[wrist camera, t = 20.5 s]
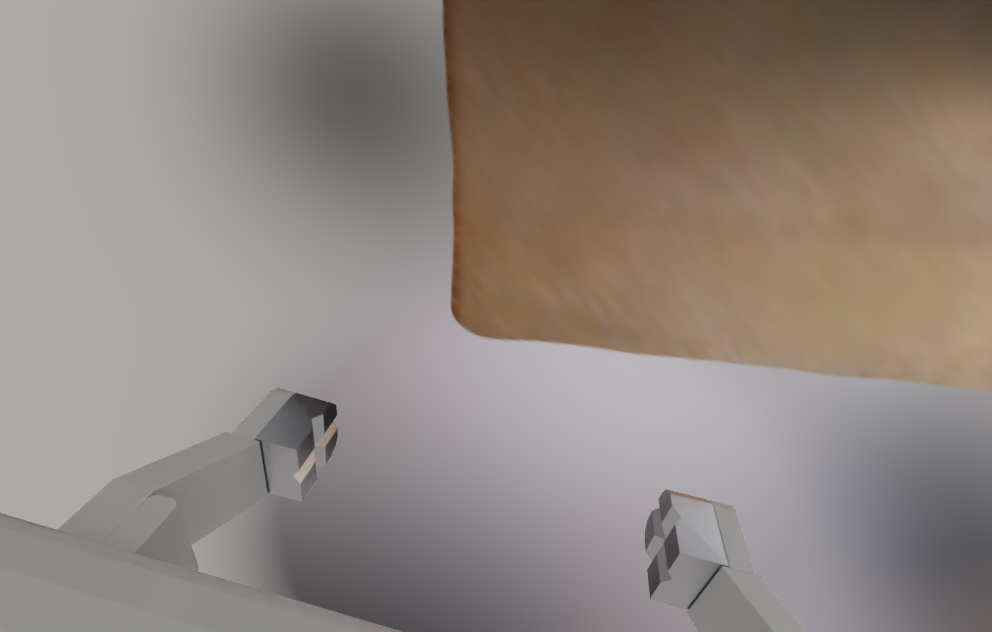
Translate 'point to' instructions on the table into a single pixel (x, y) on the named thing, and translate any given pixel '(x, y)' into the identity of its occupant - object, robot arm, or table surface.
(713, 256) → the table surface
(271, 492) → the robot arm
